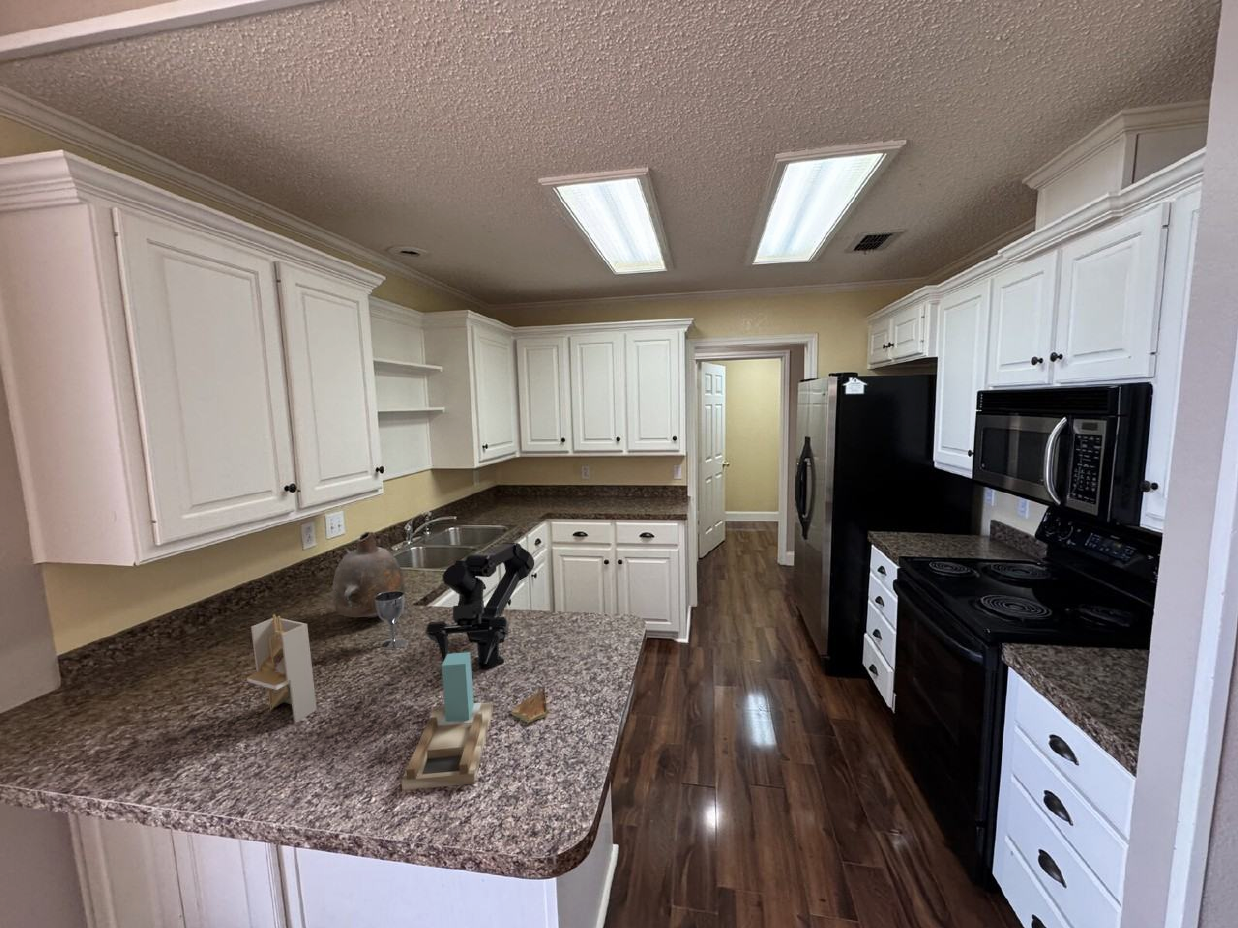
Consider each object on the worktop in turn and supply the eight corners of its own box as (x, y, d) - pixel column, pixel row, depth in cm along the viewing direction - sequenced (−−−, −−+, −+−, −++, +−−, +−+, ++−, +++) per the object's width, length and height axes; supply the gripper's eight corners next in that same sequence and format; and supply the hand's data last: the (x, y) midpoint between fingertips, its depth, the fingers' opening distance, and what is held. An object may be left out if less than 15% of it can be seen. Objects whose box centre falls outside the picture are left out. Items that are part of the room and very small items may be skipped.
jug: (341, 609, 171) (332, 526, 167) (407, 598, 179) (400, 519, 176) (330, 640, 149) (320, 545, 145) (406, 626, 157) (398, 535, 153)
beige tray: (435, 714, 112) (433, 698, 111) (492, 709, 113) (491, 693, 112) (402, 790, 90) (400, 770, 89) (474, 783, 91) (472, 763, 91)
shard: (544, 693, 120) (544, 686, 120) (567, 703, 115) (567, 696, 115) (510, 715, 111) (509, 708, 111) (533, 728, 107) (533, 720, 107)
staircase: (284, 701, 119) (271, 601, 116) (316, 711, 115) (305, 608, 111) (249, 720, 112) (236, 615, 109) (283, 732, 108) (270, 622, 104)
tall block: (451, 707, 111) (447, 653, 109) (473, 705, 111) (470, 652, 110) (445, 721, 106) (441, 665, 104) (469, 719, 106) (465, 663, 105)
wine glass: (407, 646, 144) (403, 598, 142) (377, 652, 141) (373, 602, 139) (408, 635, 151) (404, 588, 149) (380, 640, 148) (375, 593, 146)
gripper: (424, 590, 116) (414, 658, 107) (504, 585, 118) (501, 651, 109) (435, 608, 125) (427, 671, 116) (509, 602, 127) (507, 665, 117)
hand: (465, 665), depth 114 cm, fingers open, 9 cm apart
